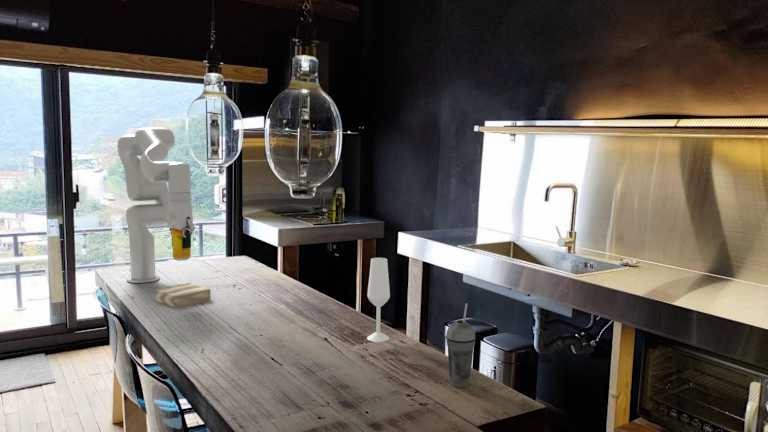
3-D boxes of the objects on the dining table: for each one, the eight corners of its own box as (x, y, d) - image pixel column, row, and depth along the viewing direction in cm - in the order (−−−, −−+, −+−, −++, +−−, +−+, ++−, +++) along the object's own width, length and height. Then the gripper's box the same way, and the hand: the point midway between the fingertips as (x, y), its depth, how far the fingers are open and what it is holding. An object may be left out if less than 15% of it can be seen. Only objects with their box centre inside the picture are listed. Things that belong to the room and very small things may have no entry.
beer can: (185, 261, 204) (183, 219, 203) (169, 260, 206) (168, 218, 204) (193, 257, 210) (192, 217, 208) (178, 257, 211) (177, 216, 210)
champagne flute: (368, 342, 168) (369, 261, 165) (365, 335, 174) (366, 257, 171) (391, 341, 169) (392, 261, 166) (386, 333, 175) (388, 256, 172)
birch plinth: (155, 300, 209) (154, 289, 208) (189, 293, 220) (189, 283, 219) (175, 307, 200) (175, 296, 200) (210, 299, 211) (210, 289, 210)
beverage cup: (441, 377, 143) (443, 299, 140) (470, 377, 143) (473, 299, 141) (447, 390, 136) (449, 307, 133) (477, 389, 136) (480, 307, 134)
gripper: (157, 196, 208) (159, 245, 210) (183, 199, 197) (185, 251, 199) (176, 195, 213) (177, 243, 216) (202, 198, 203) (204, 248, 205)
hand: (181, 246), depth 207 cm, fingers closed on beer can, 6 cm apart
